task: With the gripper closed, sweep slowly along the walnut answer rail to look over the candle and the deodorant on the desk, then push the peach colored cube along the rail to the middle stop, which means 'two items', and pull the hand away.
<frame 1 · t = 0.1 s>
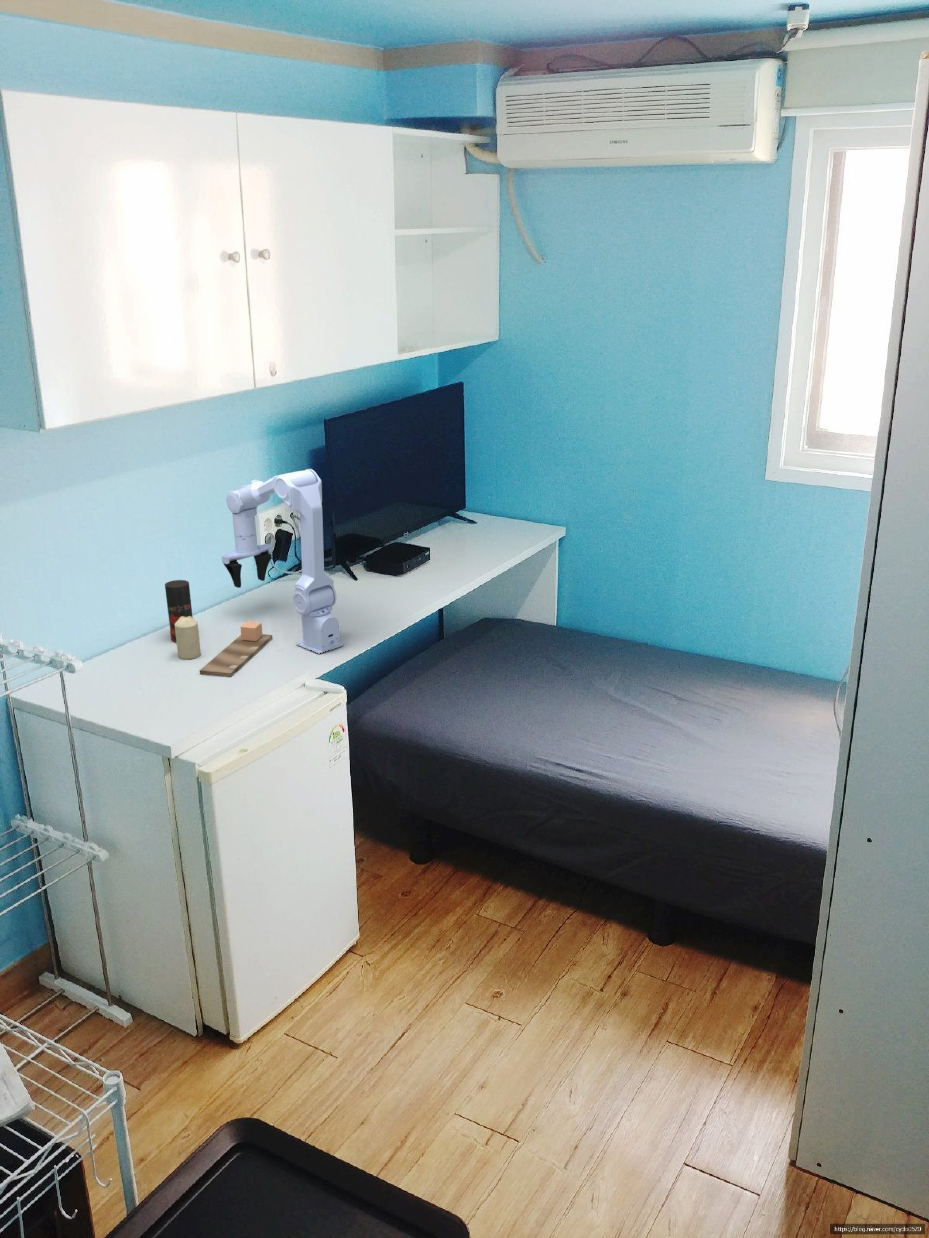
hand: (249, 583, 286), 10 cm above the table, tool pointing down, fingers open, 7 cm apart
deodorant: (183, 639, 277), on the table
answer rail: (237, 655, 266), on the table
candle: (189, 656, 266), on the table
peach colored cube: (251, 631, 273), point 3 cm above the table, slide at 0.0 cm
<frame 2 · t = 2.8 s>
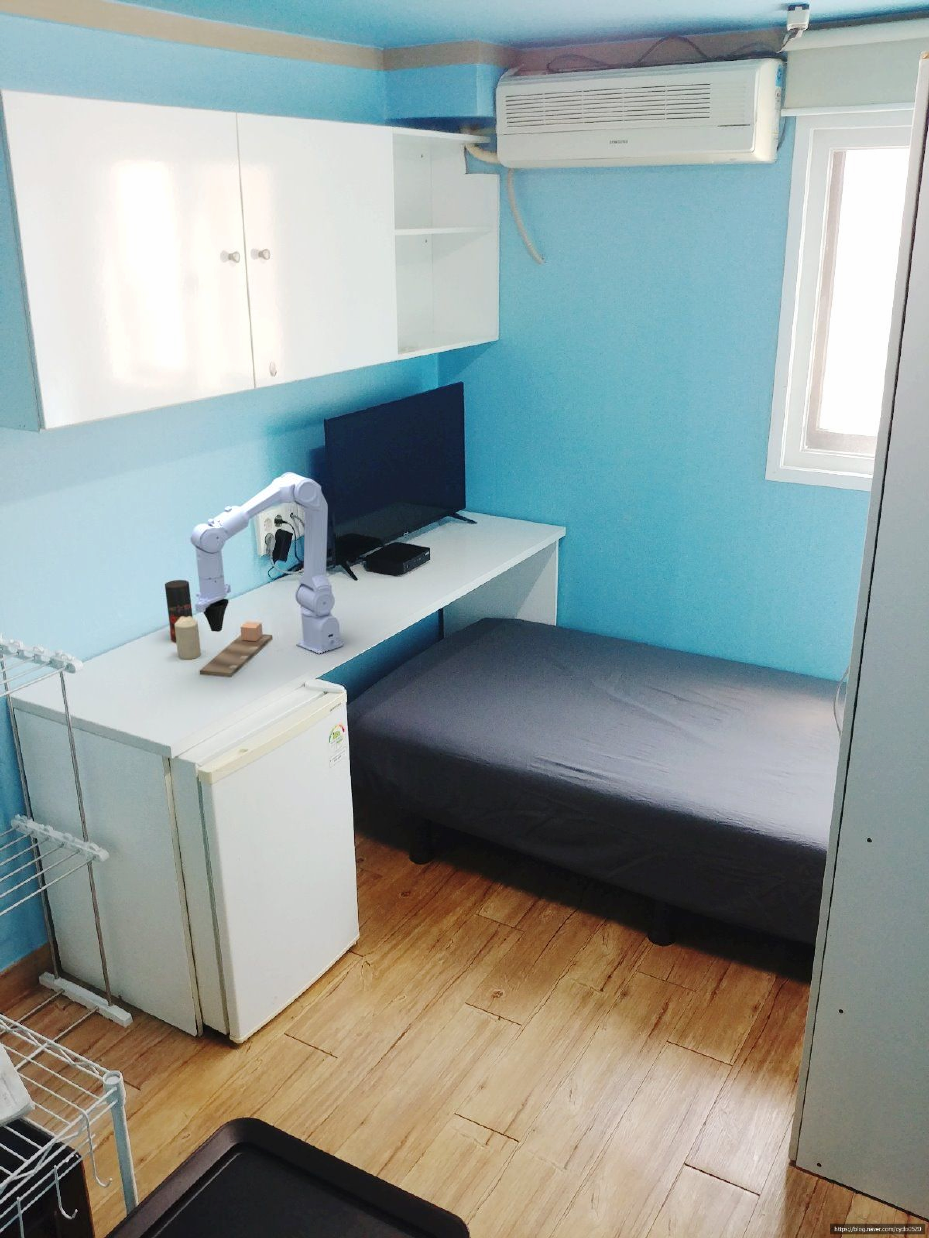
hand: (216, 630, 253), 10 cm above the table, tool pointing down, fingers closed
nothing on the table moved.
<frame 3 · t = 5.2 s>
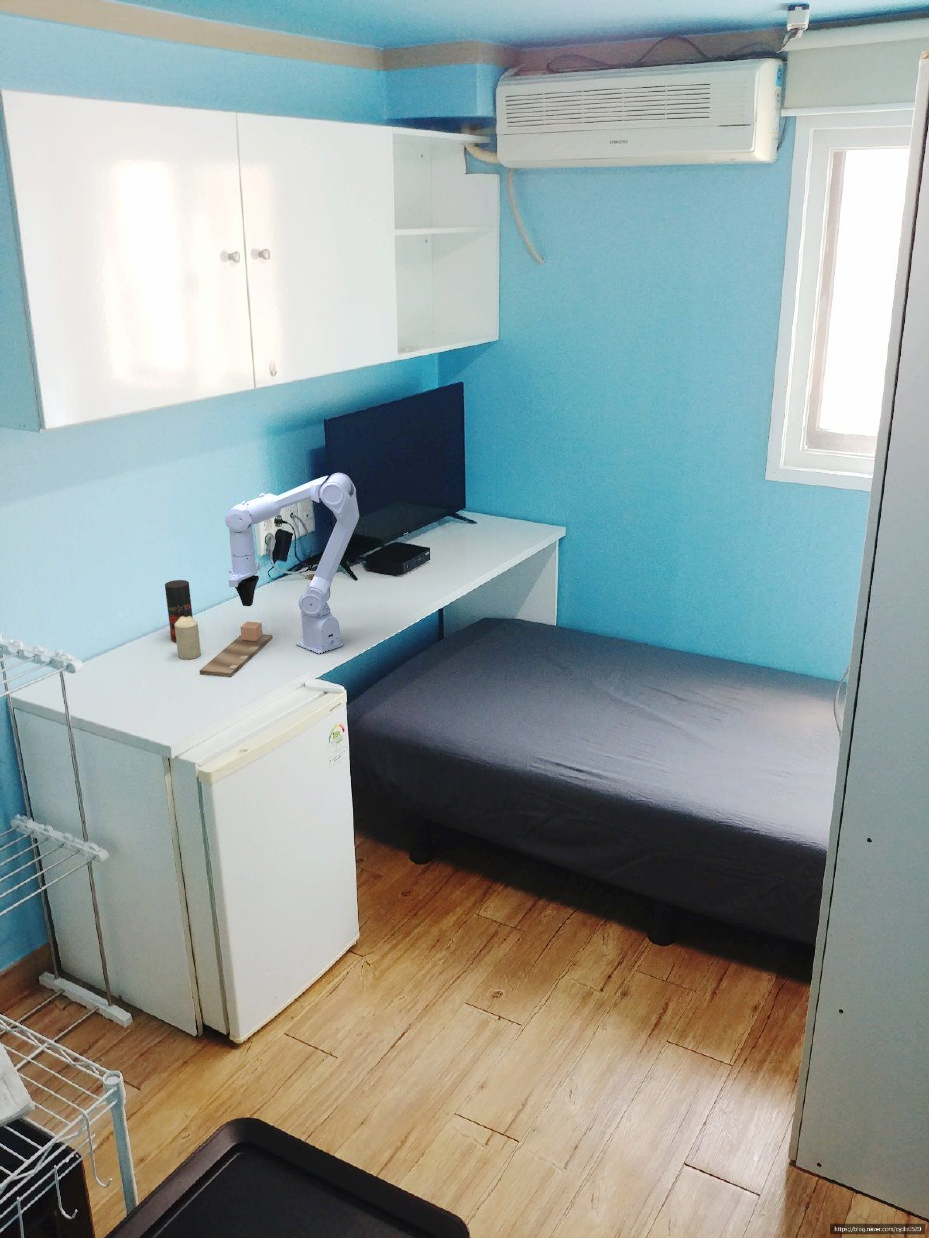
hand: (247, 605, 269), 10 cm above the table, tool pointing down, fingers closed
nothing on the table moved.
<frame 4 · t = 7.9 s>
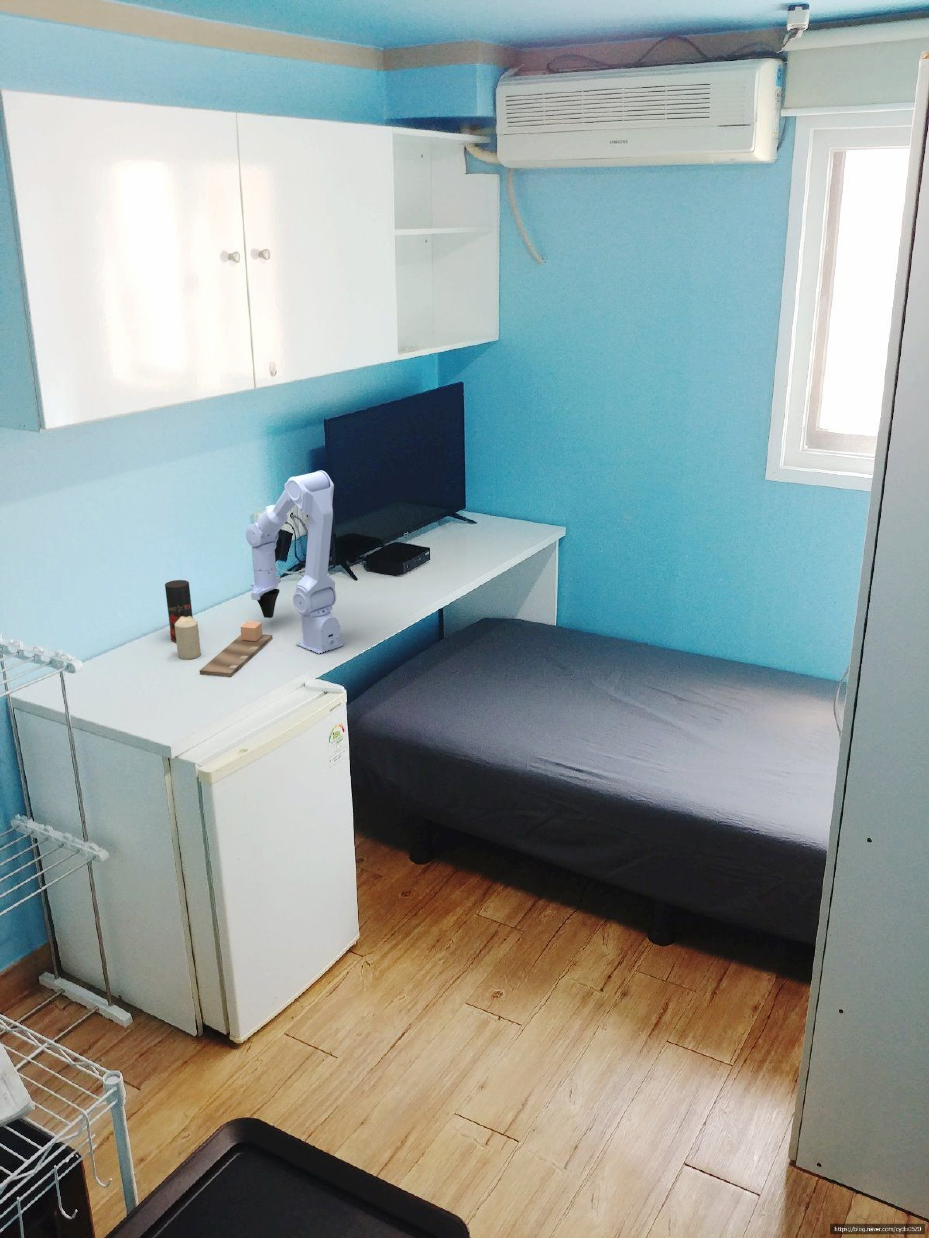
hand: (268, 616, 283), 3 cm above the table, tool pointing down, fingers closed
nothing on the table moved.
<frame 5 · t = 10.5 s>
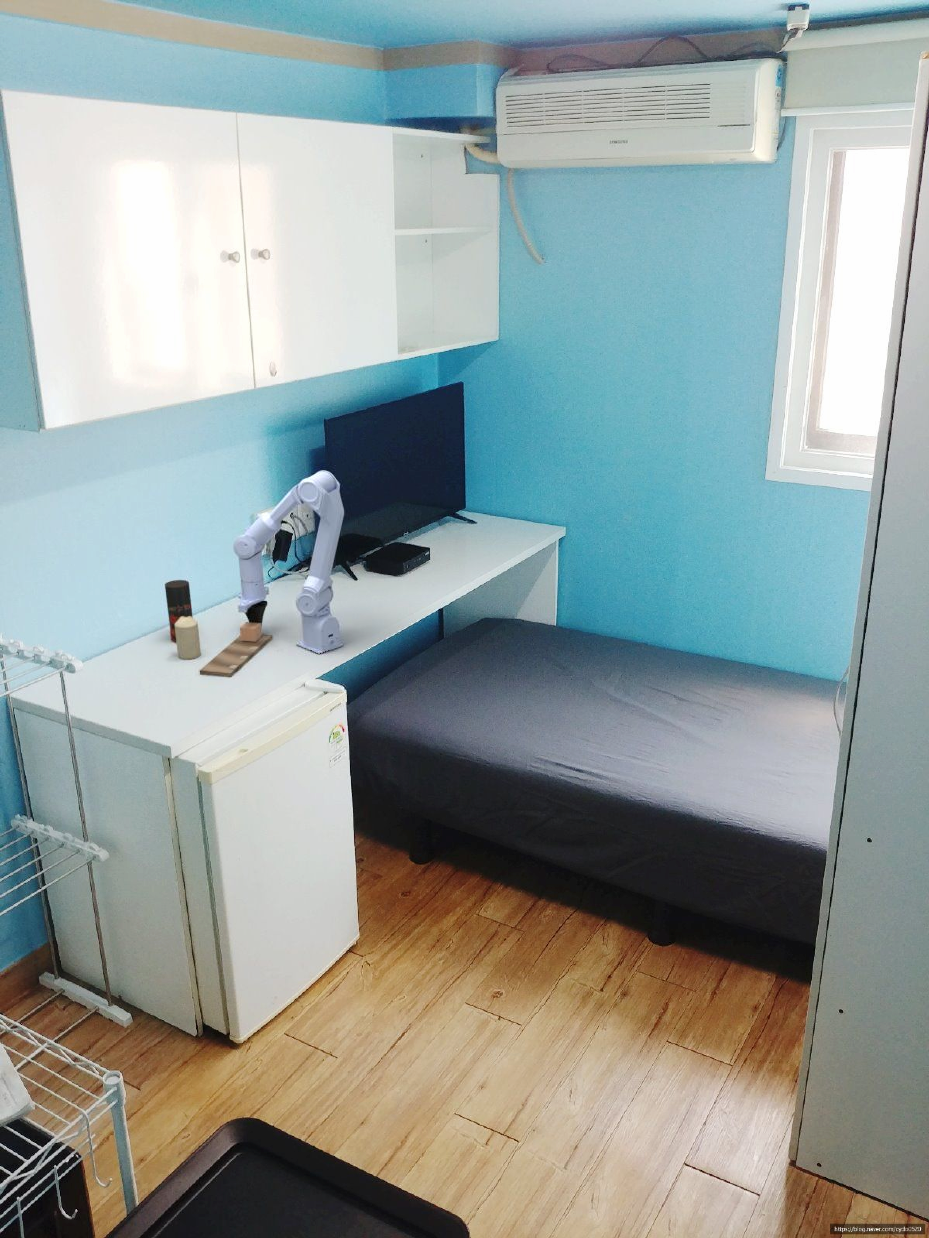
hand: (256, 629, 276), 2 cm above the table, tool pointing down, fingers closed
peach colored cube: (250, 631, 272), point 3 cm above the table, slide at 0.4 cm, touching gripper
everything else where it was.
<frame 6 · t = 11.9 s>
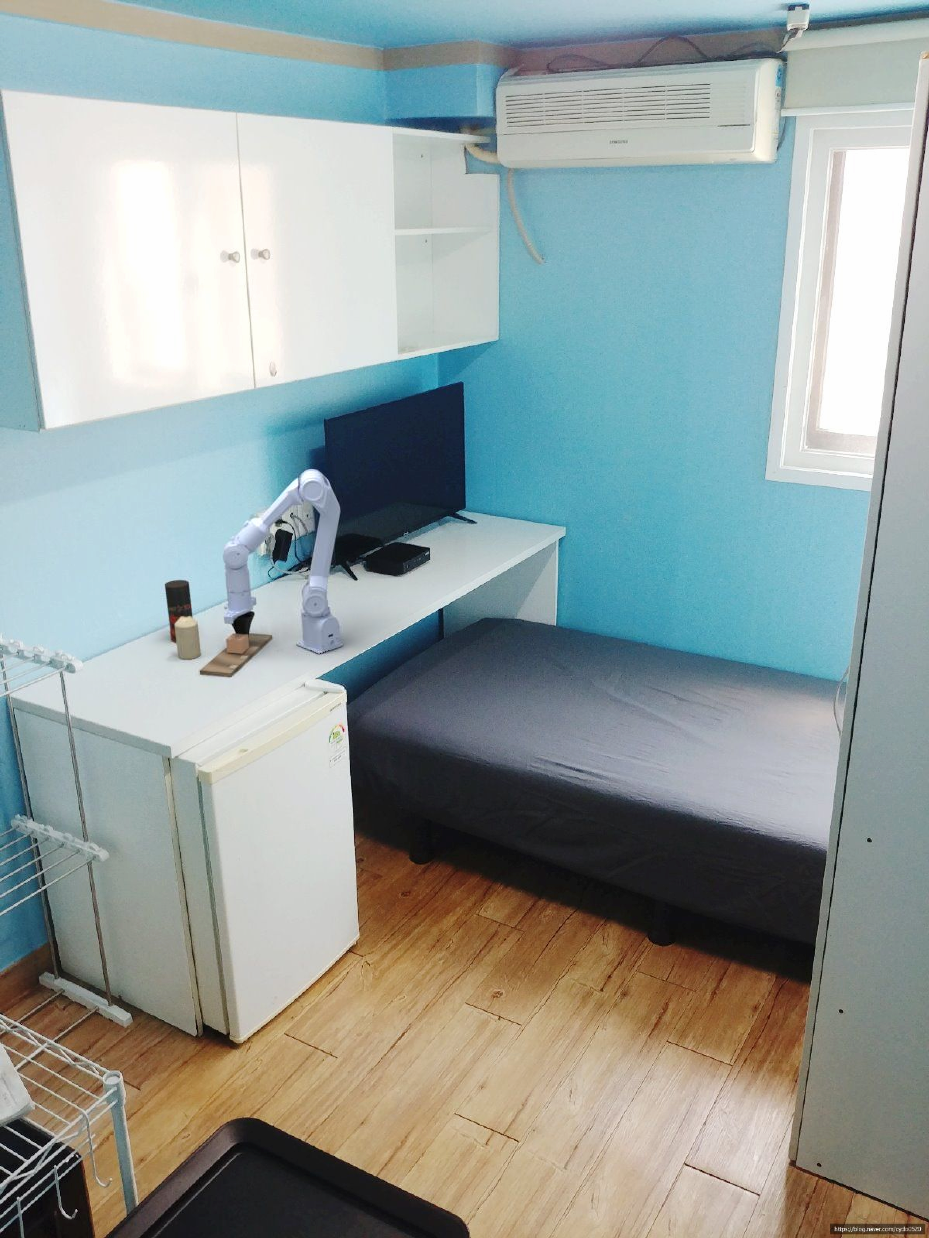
hand: (243, 640, 268), 2 cm above the table, tool pointing down, fingers closed
peach colored cube: (237, 643, 265), point 3 cm above the table, slide at 8.4 cm, touching gripper
everything else where it was.
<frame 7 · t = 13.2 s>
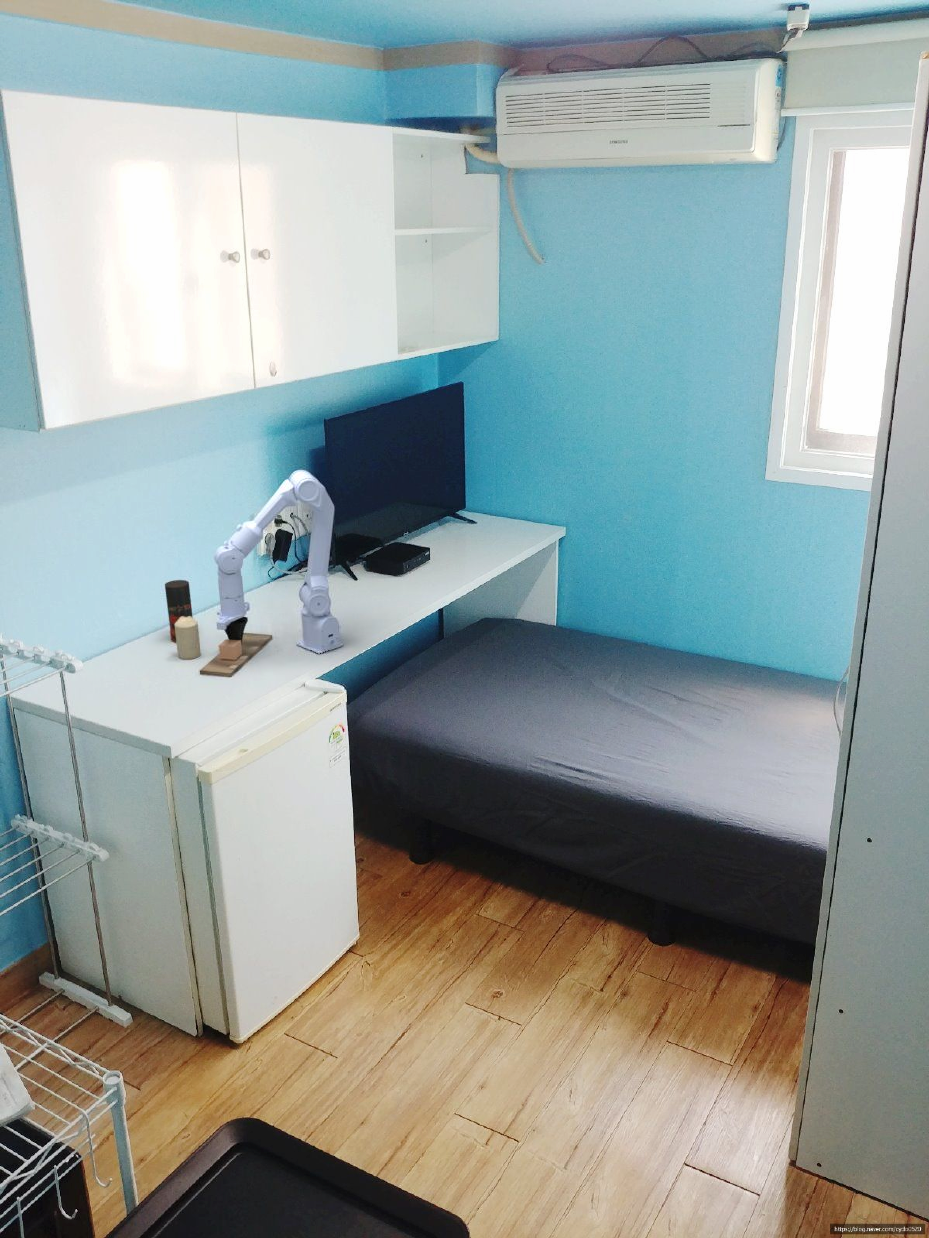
hand: (236, 646, 265), 2 cm above the table, tool pointing down, fingers closed
peach colored cube: (230, 649, 261), point 3 cm above the table, slide at 12.5 cm, touching gripper
everything else where it was.
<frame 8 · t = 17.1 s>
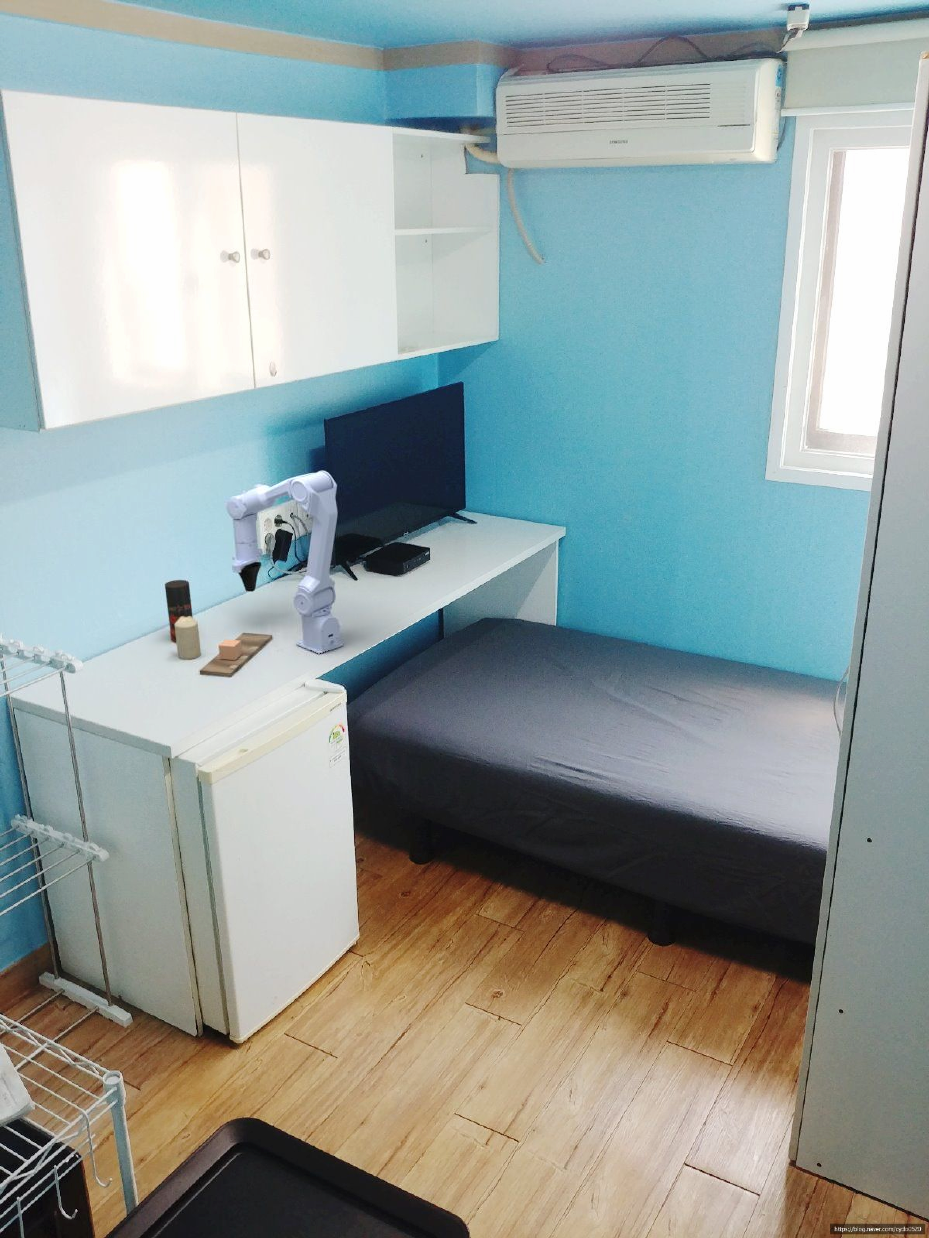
hand: (250, 590, 280), 10 cm above the table, tool pointing down, fingers closed
peach colored cube: (230, 649, 261), point 3 cm above the table, slide at 12.5 cm
everything else where it was.
at the end: peach colored cube slide at 12.5 cm; candle moved 0.2 cm from its start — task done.
